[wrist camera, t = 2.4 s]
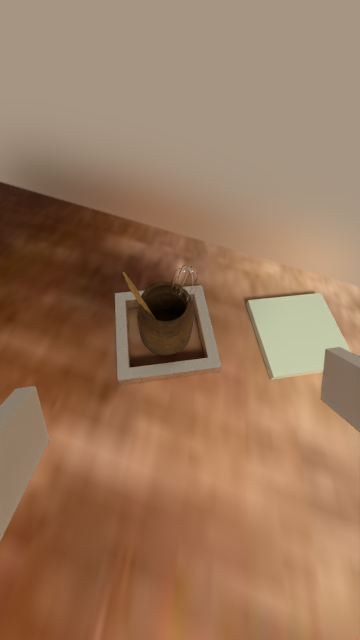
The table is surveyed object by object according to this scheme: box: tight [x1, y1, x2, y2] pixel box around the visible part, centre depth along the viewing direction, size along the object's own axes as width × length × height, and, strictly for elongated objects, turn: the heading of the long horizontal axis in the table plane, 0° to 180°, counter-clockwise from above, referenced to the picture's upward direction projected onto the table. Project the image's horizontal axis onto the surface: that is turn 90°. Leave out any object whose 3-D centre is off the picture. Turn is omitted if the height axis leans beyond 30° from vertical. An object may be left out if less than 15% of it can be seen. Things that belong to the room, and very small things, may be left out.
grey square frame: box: [115, 285, 221, 385], centre depth 29 cm, size 11×11×2 cm
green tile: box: [246, 293, 351, 380], centre depth 31 cm, size 10×10×1 cm
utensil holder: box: [123, 265, 199, 355], centre depth 25 cm, size 6×6×12 cm
